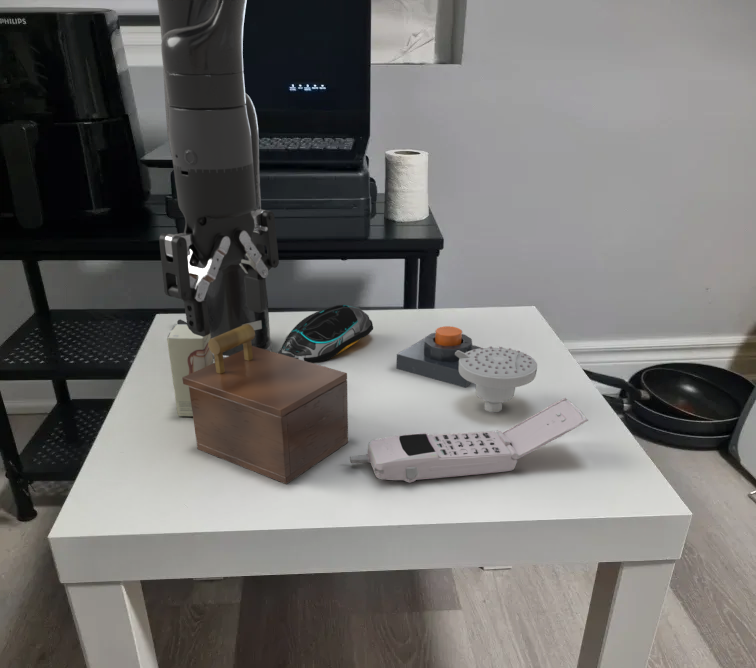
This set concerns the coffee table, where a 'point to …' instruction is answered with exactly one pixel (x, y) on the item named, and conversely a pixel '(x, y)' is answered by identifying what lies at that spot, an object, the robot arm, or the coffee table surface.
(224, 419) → the chest
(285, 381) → the lid
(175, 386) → the off-white upright block
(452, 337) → the button
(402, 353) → the control block
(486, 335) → the coffee table surface
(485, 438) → the mobile phone
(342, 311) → the computer mouse
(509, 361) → the showerhead
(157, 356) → the coffee table surface
